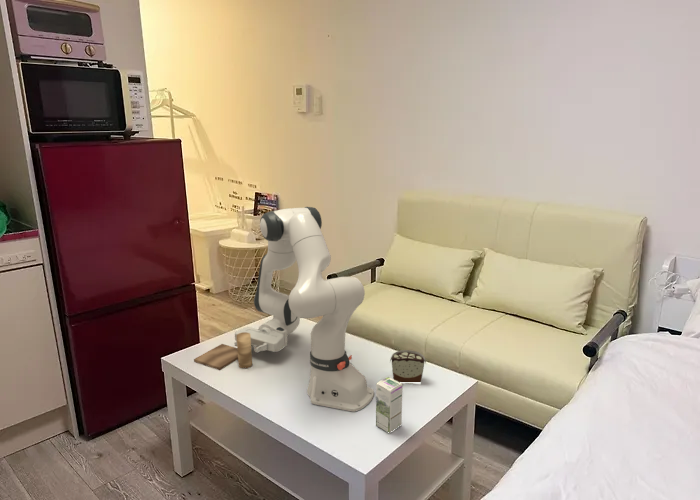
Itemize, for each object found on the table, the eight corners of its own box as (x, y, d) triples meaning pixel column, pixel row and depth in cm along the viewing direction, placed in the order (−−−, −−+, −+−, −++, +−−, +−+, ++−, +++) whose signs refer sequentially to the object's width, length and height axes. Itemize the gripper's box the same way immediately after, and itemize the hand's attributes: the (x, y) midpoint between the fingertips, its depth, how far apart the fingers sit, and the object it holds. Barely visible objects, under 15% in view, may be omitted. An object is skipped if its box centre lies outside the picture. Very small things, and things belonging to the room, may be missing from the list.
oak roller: (255, 363, 188) (253, 334, 184) (246, 369, 183) (244, 339, 180) (244, 360, 190) (242, 331, 187) (235, 366, 186) (233, 336, 183)
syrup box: (402, 426, 151) (403, 382, 147) (389, 434, 147) (390, 390, 143) (387, 418, 155) (389, 375, 151) (374, 426, 151) (375, 382, 147)
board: (247, 353, 196) (247, 351, 195) (220, 370, 183) (219, 367, 183) (222, 346, 202) (222, 343, 202) (194, 361, 189) (193, 359, 189)
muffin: (424, 375, 179) (425, 350, 177) (425, 384, 174) (426, 358, 171) (389, 374, 181) (390, 348, 178) (389, 382, 175) (389, 356, 172)
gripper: (248, 320, 201) (223, 333, 189) (290, 331, 191) (267, 345, 180) (249, 335, 203) (224, 348, 191) (290, 346, 193) (267, 361, 181)
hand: (245, 347), depth 185 cm, fingers open, 8 cm apart
